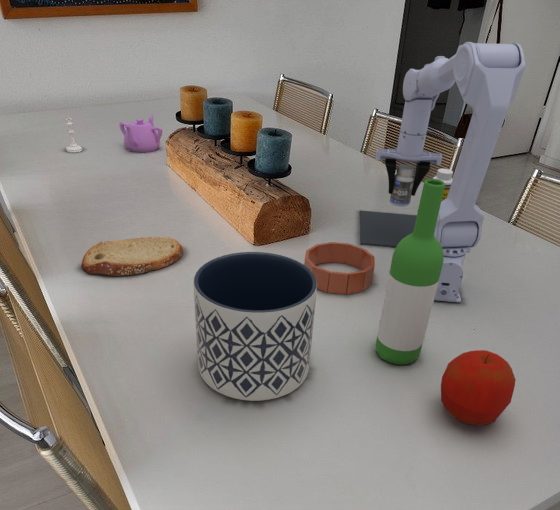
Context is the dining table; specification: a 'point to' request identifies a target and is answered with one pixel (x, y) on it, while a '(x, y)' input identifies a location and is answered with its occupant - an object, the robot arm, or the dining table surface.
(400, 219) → the mat
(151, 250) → the slice of bread
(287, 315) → the planter
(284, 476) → the dining table surface
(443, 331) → the dining table surface
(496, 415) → the apple
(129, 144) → the teapot
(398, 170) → the pill bottle
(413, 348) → the wine bottle
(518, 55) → the robot arm
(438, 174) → the supplement bottle
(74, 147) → the chess piece
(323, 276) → the bracelet
